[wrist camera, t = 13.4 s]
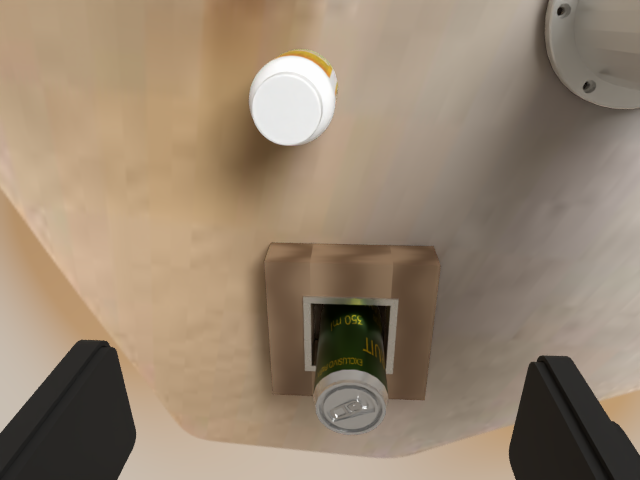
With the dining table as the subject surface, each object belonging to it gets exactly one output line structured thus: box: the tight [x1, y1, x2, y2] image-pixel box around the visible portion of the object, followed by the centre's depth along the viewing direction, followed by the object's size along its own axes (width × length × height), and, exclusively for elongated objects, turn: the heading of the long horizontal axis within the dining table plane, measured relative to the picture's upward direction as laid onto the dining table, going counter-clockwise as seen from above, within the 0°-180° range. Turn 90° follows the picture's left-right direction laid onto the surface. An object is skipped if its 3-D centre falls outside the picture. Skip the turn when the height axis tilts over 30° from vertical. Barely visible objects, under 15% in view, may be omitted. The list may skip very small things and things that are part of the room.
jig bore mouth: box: [303, 296, 398, 374], centre depth 40 cm, size 8×8×1 cm
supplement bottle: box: [249, 49, 338, 146], centre depth 31 cm, size 5×5×10 cm
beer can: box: [313, 304, 388, 435], centre depth 38 cm, size 5×5×12 cm
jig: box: [264, 243, 441, 400], centre depth 42 cm, size 14×14×4 cm
